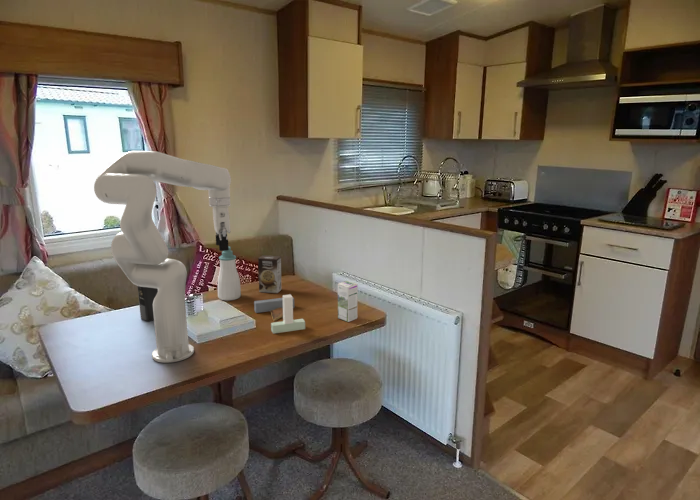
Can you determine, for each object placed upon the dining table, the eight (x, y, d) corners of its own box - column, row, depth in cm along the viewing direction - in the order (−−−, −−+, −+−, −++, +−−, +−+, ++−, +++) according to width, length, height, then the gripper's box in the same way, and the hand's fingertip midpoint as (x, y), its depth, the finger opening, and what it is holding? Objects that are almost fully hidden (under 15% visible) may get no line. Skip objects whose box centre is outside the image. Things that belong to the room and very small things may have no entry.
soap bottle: (234, 292, 207) (231, 243, 202) (245, 297, 200) (242, 247, 195) (214, 297, 201) (211, 246, 195) (224, 302, 194) (221, 250, 188)
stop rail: (294, 307, 188) (294, 298, 187) (255, 312, 182) (255, 303, 181) (292, 305, 191) (292, 296, 190) (254, 310, 185) (254, 301, 184)
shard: (273, 323, 174) (273, 318, 173) (258, 318, 178) (258, 314, 177) (291, 314, 182) (291, 310, 182) (277, 310, 187) (277, 306, 186)
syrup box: (357, 318, 178) (358, 283, 174) (347, 322, 173) (348, 286, 170) (347, 314, 181) (347, 280, 178) (337, 318, 177) (337, 283, 174)
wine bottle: (147, 322, 172) (140, 244, 165) (139, 318, 175) (132, 242, 168) (161, 317, 176) (154, 242, 169) (153, 314, 179) (146, 240, 173)
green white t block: (302, 326, 170) (302, 293, 167) (305, 329, 167) (304, 295, 164) (271, 330, 166) (270, 296, 163) (273, 333, 163) (271, 299, 160)
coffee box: (258, 292, 208) (257, 258, 204) (263, 288, 214) (262, 254, 210) (277, 293, 206) (276, 259, 203) (282, 289, 213) (281, 255, 209)
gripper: (233, 204, 159) (236, 251, 163) (226, 199, 175) (229, 242, 179) (211, 205, 156) (214, 253, 160) (206, 199, 172) (209, 243, 176)
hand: (222, 247), depth 170 cm, fingers open, 9 cm apart
